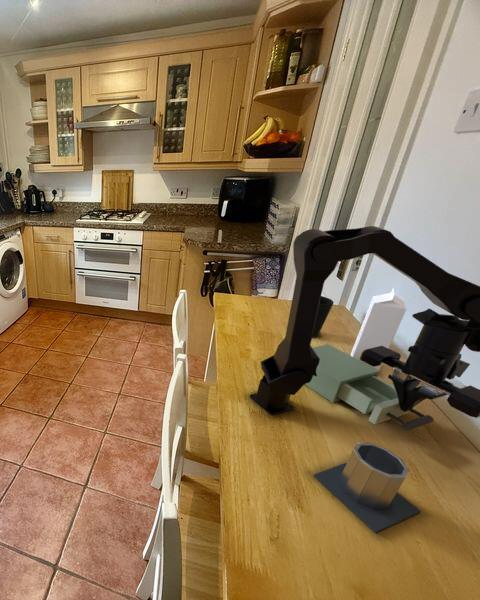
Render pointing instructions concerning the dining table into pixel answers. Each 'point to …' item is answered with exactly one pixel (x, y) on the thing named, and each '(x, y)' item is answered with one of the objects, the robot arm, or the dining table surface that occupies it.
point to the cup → (322, 314)
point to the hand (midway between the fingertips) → (404, 410)
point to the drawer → (378, 401)
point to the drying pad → (372, 518)
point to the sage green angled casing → (337, 371)
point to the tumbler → (373, 475)
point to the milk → (379, 324)
